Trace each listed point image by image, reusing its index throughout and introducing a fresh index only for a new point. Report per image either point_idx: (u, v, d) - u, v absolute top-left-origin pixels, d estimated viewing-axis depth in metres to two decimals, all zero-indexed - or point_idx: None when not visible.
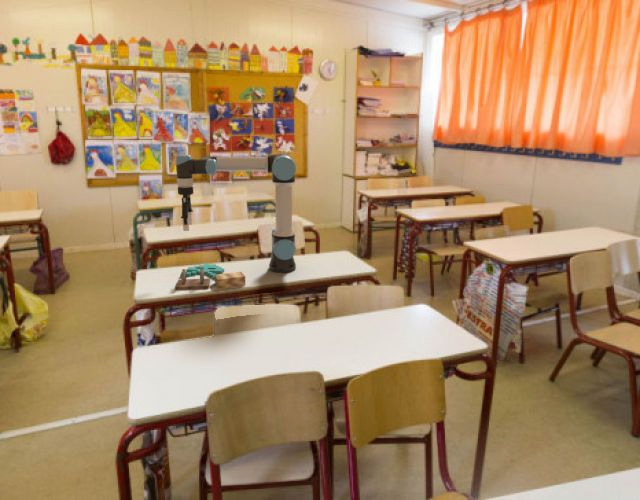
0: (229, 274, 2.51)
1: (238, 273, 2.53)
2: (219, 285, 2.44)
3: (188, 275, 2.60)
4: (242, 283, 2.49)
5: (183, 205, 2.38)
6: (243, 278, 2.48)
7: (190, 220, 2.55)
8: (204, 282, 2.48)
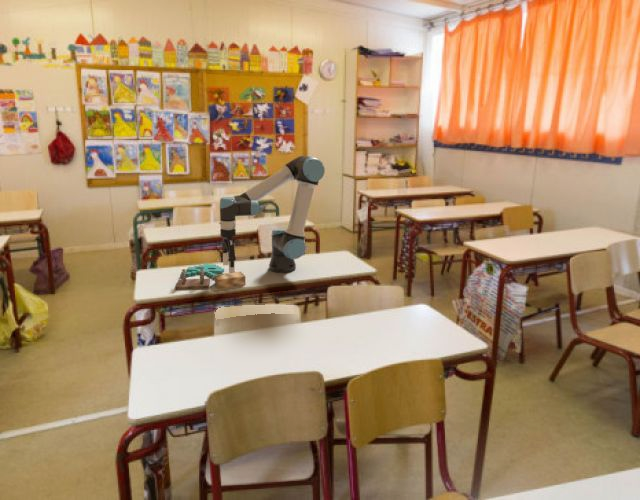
0: (229, 274, 2.51)
1: (238, 273, 2.53)
2: (219, 285, 2.44)
3: (188, 275, 2.60)
4: (242, 283, 2.49)
5: (230, 248, 2.38)
6: (243, 278, 2.49)
7: (227, 261, 2.53)
8: (204, 282, 2.48)
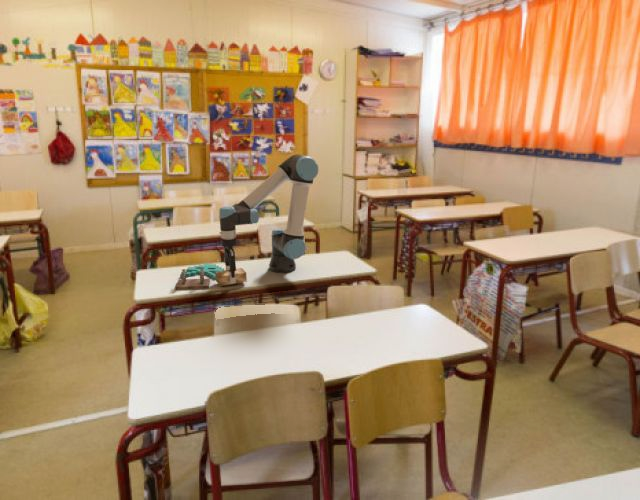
0: None
1: (239, 269, 2.53)
2: (221, 282, 2.44)
3: (188, 275, 2.60)
4: (243, 279, 2.49)
5: (231, 259, 2.40)
6: (244, 274, 2.48)
7: None
8: (204, 282, 2.48)
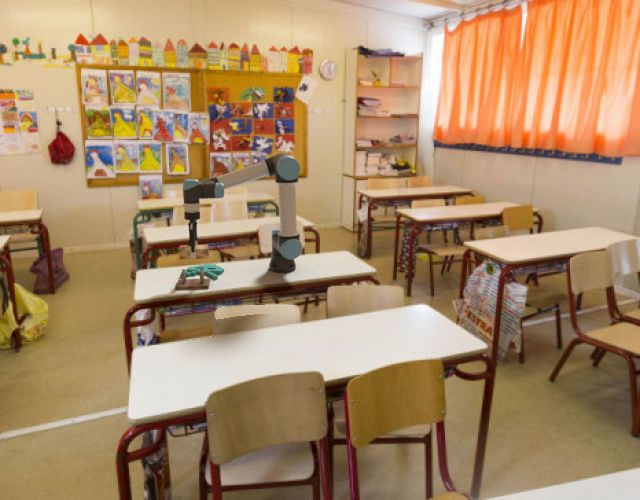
0: None
1: (204, 245, 2.45)
2: (180, 256, 2.38)
3: (188, 275, 2.60)
4: (205, 256, 2.41)
5: (190, 233, 2.34)
6: (206, 250, 2.40)
7: None
8: (204, 282, 2.48)
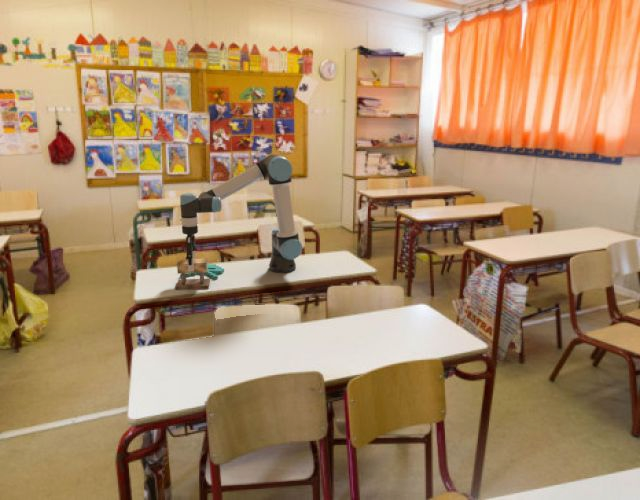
0: None
1: (202, 259, 2.47)
2: (178, 270, 2.40)
3: (188, 275, 2.60)
4: (203, 269, 2.43)
5: (188, 246, 2.34)
6: (204, 264, 2.42)
7: None
8: (204, 282, 2.48)
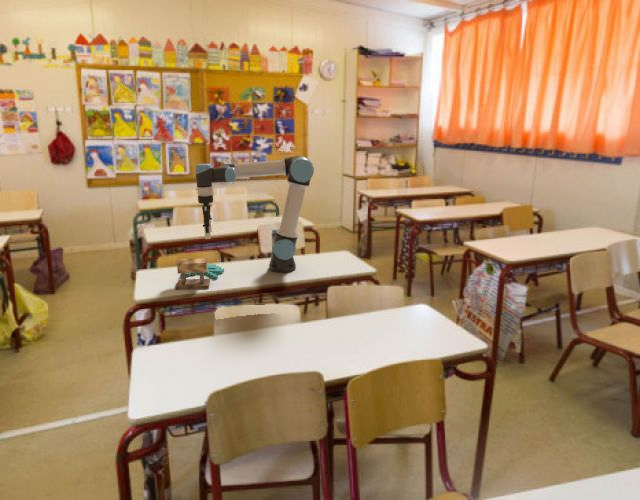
0: (192, 260, 2.46)
1: (202, 259, 2.47)
2: (178, 270, 2.40)
3: (188, 275, 2.60)
4: (203, 269, 2.43)
5: (205, 214, 2.41)
6: (204, 264, 2.42)
7: (210, 228, 2.57)
8: (204, 282, 2.48)
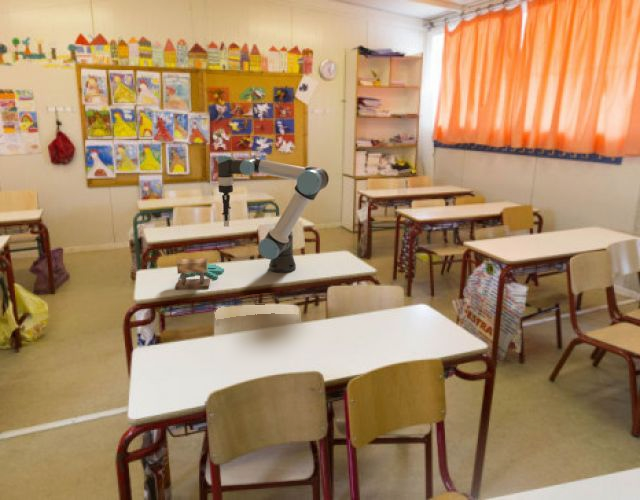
0: (192, 260, 2.46)
1: (202, 259, 2.47)
2: (178, 270, 2.40)
3: (188, 275, 2.60)
4: (203, 269, 2.43)
5: (224, 202, 2.54)
6: (204, 264, 2.42)
7: (228, 216, 2.70)
8: (204, 282, 2.48)
